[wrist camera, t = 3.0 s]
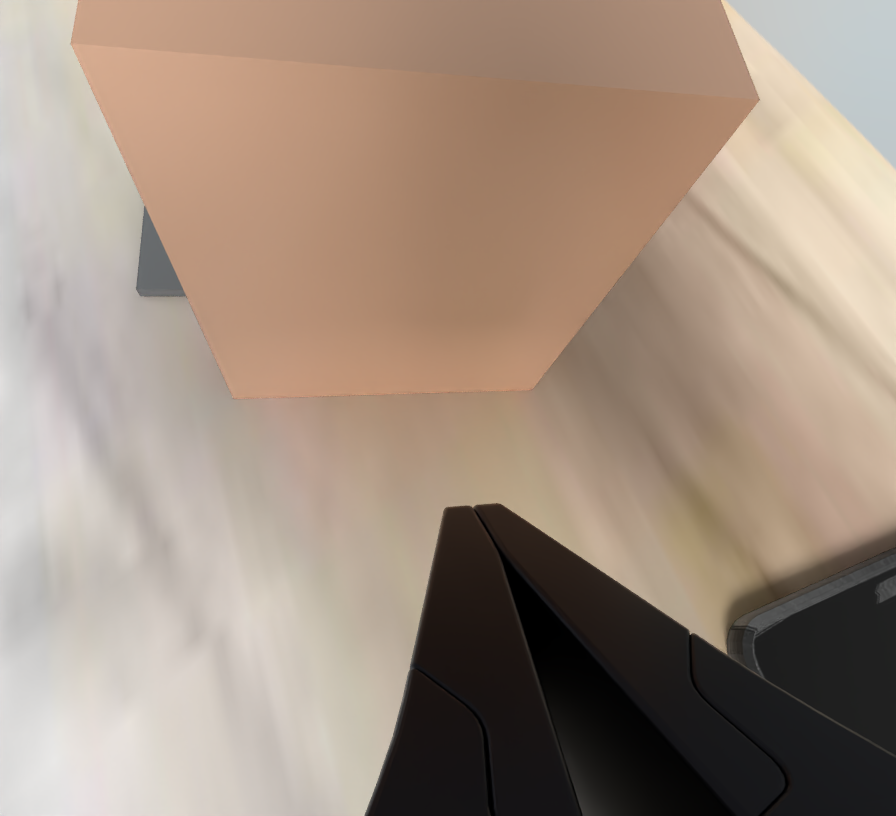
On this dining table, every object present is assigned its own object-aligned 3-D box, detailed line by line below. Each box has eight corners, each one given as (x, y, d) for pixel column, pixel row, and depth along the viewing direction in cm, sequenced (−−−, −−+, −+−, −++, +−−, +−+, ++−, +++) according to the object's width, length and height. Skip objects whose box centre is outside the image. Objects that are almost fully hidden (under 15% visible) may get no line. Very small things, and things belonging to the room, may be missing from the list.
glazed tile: (531, 390, 20) (759, 100, 9) (233, 399, 18) (71, 44, 7) (520, 324, 21) (715, -12, 10) (235, 325, 19) (93, -89, 8)
